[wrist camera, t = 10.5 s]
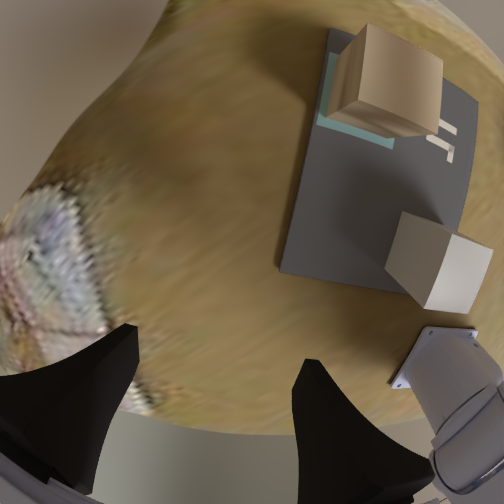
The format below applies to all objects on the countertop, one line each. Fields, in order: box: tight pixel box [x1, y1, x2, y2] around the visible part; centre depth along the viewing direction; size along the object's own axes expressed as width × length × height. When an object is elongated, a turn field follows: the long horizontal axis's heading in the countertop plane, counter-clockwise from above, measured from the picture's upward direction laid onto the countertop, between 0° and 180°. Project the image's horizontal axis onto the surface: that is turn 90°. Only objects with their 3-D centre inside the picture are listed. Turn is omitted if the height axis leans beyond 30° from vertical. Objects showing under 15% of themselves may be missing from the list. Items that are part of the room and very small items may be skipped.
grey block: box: [384, 211, 493, 314], centre depth 15 cm, size 4×4×6 cm
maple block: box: [326, 23, 443, 139], centre depth 12 cm, size 4×4×6 cm
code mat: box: [279, 28, 478, 295], centre depth 16 cm, size 14×18×1 cm
